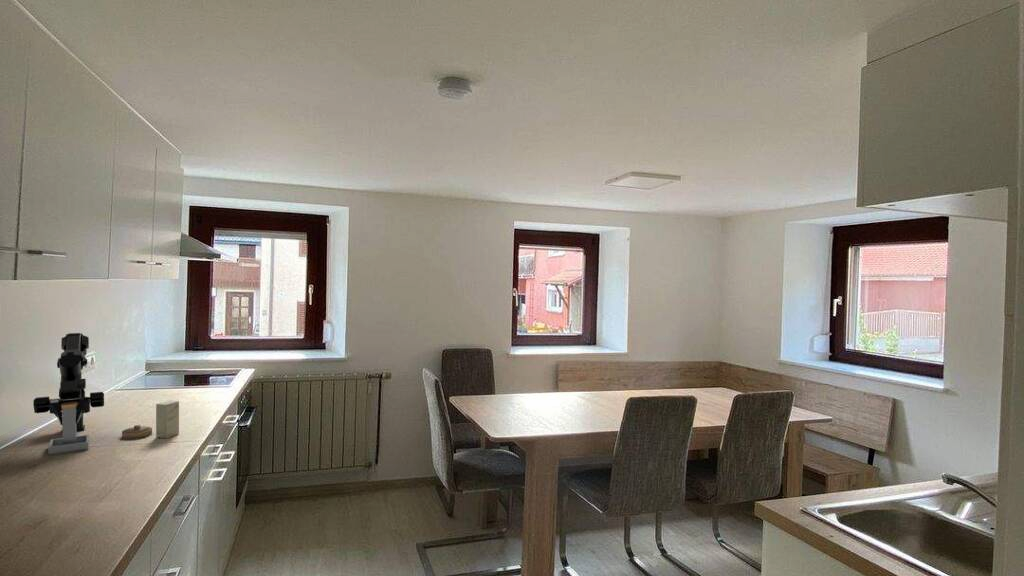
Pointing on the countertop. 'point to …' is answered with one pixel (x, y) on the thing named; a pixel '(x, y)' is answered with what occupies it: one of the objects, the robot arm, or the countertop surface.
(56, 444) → the tray
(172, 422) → the skincare box
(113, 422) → the countertop surface
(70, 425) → the pin
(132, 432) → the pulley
